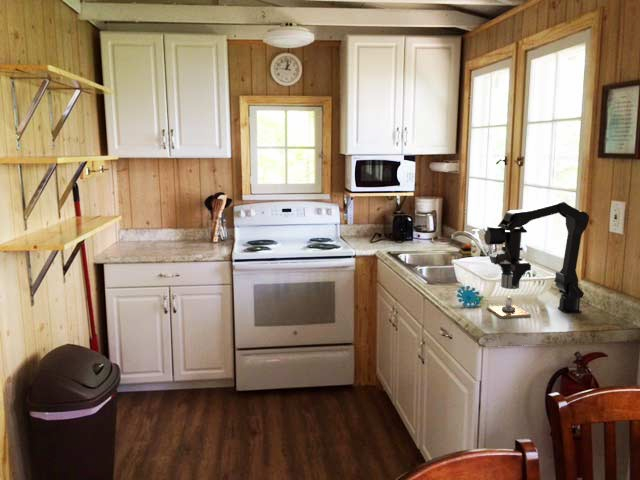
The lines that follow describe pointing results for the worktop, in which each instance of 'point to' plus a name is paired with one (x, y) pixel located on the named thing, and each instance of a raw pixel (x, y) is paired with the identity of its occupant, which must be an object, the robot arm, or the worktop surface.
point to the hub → (508, 281)
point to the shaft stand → (508, 310)
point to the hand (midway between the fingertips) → (510, 283)
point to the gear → (469, 297)
